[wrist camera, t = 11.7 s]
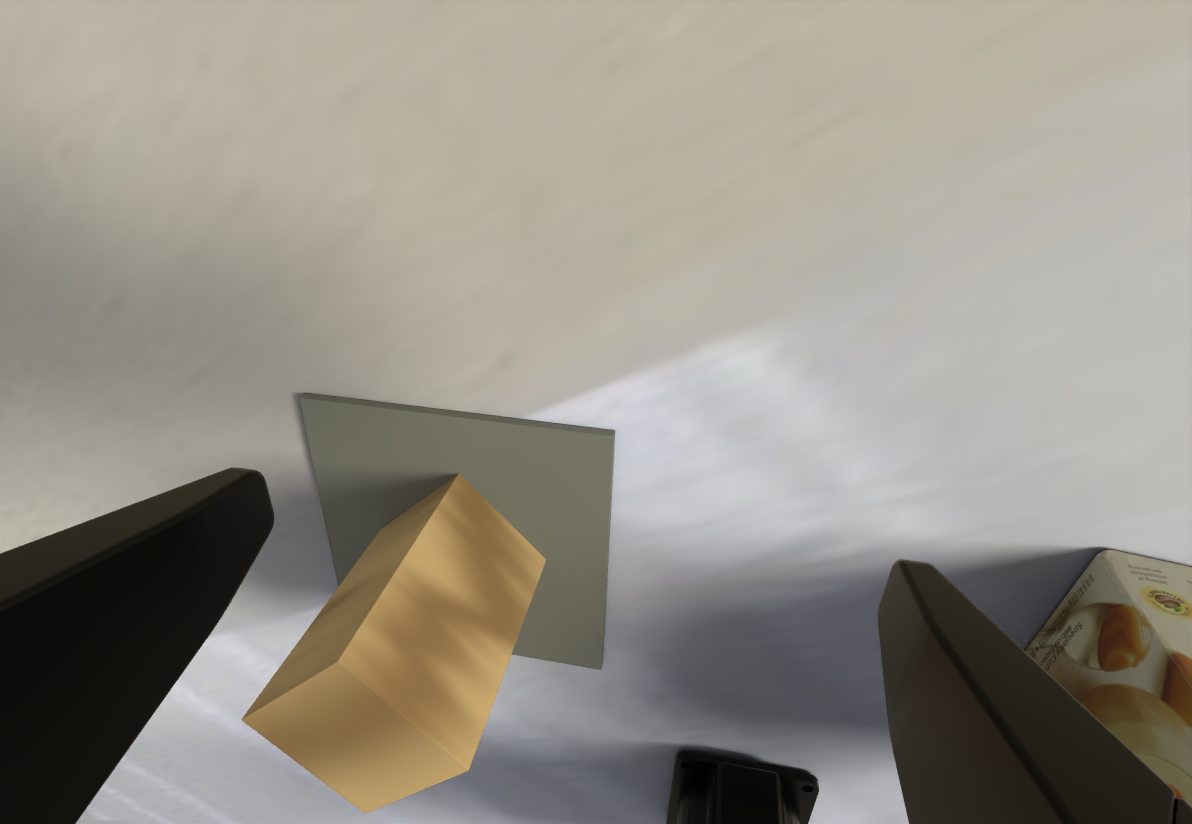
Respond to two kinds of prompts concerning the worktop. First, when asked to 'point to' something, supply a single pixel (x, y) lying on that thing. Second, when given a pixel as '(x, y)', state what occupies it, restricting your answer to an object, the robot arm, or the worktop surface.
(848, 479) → the worktop surface
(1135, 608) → the coffee box
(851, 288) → the worktop surface
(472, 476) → the slate mat
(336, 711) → the oak block
